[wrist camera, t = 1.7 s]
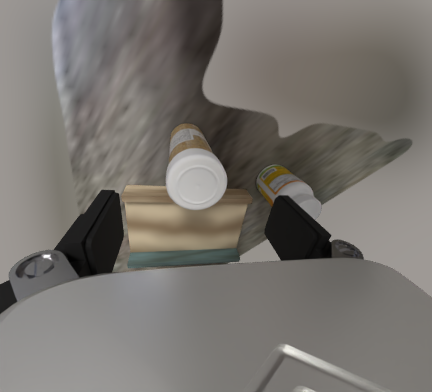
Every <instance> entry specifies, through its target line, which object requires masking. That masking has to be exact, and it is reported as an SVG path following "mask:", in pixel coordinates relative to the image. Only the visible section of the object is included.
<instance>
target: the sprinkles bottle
mask: <svg viewBox="0 0 432 392" xmlns="http://www.w3.org/2000/svg"><path fill="white" fill-rule="evenodd" d="M226 187H227V175H226V172H225V170H224V168H223V166H222V164H221V162H220V161H219V159H218V158H217V157H216V156H215V155H214V154H213V153H212V150H211V148H210V146H209V145H208V143H207V141H206V139H205V137H204V135H203V133H202V131H201V130H200V129H199V128H198V127H197V126H195V125H193V124H188V123H186V124H180V125H179V126H177V127H176V128H175V129H174V130H173V131H172V133H171V137H170V151H169V165H168V168H167V172H166V188H167V192H168V194H169V196H170V198H171V199H172V200H173V201H174V202H175V203H176V204H177V205H179V206H181V207H183V208H185V209H189V210H202V209H206V208H208V207H211V206H212V205H214V204H215V203H217V202H218V201H219V200H220V199H221V198H222V196H223V194H224V193H225V190H226Z"/></svg>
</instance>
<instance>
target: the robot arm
mask: <svg viewBox="0 0 432 392" xmlns="http://www.w3.org/2000/svg"><path fill="white" fill-rule="evenodd" d="M265 235H266V237H267V239H268V240H269V241H270V243H271V245H272V246H273V248H274V249H275V251H276V253H277V254H278V256H279V258H280V259H281V261H269V262H253V263H237V264H221V265H206V266H190V267H176V268H161V269H147V270H133V271H123V272H113V273H112V270H113V267H114V264H115V261H116V258H117V255H118V253H119V250H120V247H121V244H122V241H123V237H124V230H123V222H122V214H121V206H120V198H119V193H115V191H114V190H101V191H100V193H99V194H98V195H97V197H96V198H95V200H94V201H93V202H92V204H91V205H90V207H89V208H88V209H87V211H86V212H85V213H84V214H81V215H80V216H79V217H78V218H77V219H76V221H75V222H74V223H73V225H72V226H71V227H70V229H69V230H68V231H67V233H66V234H65V236H64V237H63V238H62V239H61V241H60V242H59V243H58V245H57V246H56V247H55V249H54V250H45V251H40V252H36V253H34V254H31V255H29V256H27V257H25V258H23V259H22V260H20V261H19V262H17V263H16V264H15V265H14V266H13V267H12V268H11V270H10V272H9V281H6V282H4V283H2V284H0V392H432V297H431V296H429V295H428V294H427V293H425V292H424V291H423V290H422V289H420V288H419V287H418V286H416V285H415V284H414V283H413V282H411V281H410V280H409V279H407V278H406V277H405V276H403V275H402V274H400V273H399V272H397V271H396V270H394V269H392V268H390V267H388V266H385V265H383V264H380V263H376V262H373V261H368V260H364V257H363V254H362V252H361V251H360V250H359V249H358V248H357V247H355V246H354V245H352V244H350V243H348V242H346V241H343V240H333V241H332V242H330V241H329V239H330V237H331V235H330V234H329V233H328V232H327V231H326V230H325V229H324V228H323V227H322V226H321V225H320V224H319V223H317V222H316V221H315V220H314V219H313V218H312V217H311V216H310V215H309V214H308V213H307V212H306V211H305V210H303V209H302V208H301V207H300V206H299V205H298V204H297V203H296V202H295V201H294V200H293V199H292V198H290V197H289V196H288V195H279V196H278V197H276V198H275V200H274V203H273V206H272V209H271V212H270V215H269V218H268V221H267V224H266V227H265Z"/></svg>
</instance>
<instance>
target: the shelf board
mask: <svg viewBox="0 0 432 392" xmlns="http://www.w3.org/2000/svg"><path fill="white" fill-rule="evenodd" d="M121 197H122V202H125V208H126V217H127V226H128V234H129V243H130V252H131V253H130V257H129V261H128V264H127V265H128V268H140V267H157V266H173V265H190V264H206V263H223V262H238V261H239V260H240V257H239V254H238V252H237V249H236V247H237V243H238V239H239V235H240V232H241V228H242V224H243V220H244V216H245V213H246V209H247V205H248V204H252V200H253V199H252V198H251V196H250V195H249V193H248V192H247V190H246V189H226V190H225V193H224V194H223V196H222V198H221V199H220V200H219V201H218V202H217V203H215V204H214V205H212V206H211V207H208V208H206V209H202V210H189V209H185V208H183V207H181V206H179V205H177V204H176V203H175V202H174V201H173V200H172V199H171V198H170V196H169V194H168V192H167V188H166V186H143V185H127V186H126V188H125V190H124V192H123V194H122V196H121Z"/></svg>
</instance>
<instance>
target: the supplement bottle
mask: <svg viewBox="0 0 432 392" xmlns="http://www.w3.org/2000/svg"><path fill="white" fill-rule="evenodd" d="M256 184H257V188H258V190H259V191H260V193H261V194H262V195H263V196H264V198H265V199H266V200H267V201H268V202H269V204H270V205H271V206H273V203H274V200H275V198H276V197H278V196H279V195H288V196H289V197H290V198H292V199H293V200H294V201H295V202H296V203H297V204H298V205H299V206H300V207H301V208H302V209H303V210H305V211H306V212H307V213H308V214H309V215H310V216H311V217H312V218H313V219H314V220H316V219H317V218H318V216H319V215H320V213H321V209H322V206H321V203H320V202H319V201H318V200H317V199H316V198H315V197H314V196H313V191H312V189H311V188H310V186H308V185H307V184H306V183H305V182H303V181H302V180H300V179H299V178H298V177H296V176H295V175H294V174H292V173H291V172H290V171H288V170H287V169H286V168H284V167H283V166H280V165H270V166H268V167H266V168H264V169H263V170H262V171H261V172H260V174H259V175H258V177H257V182H256Z"/></svg>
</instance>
